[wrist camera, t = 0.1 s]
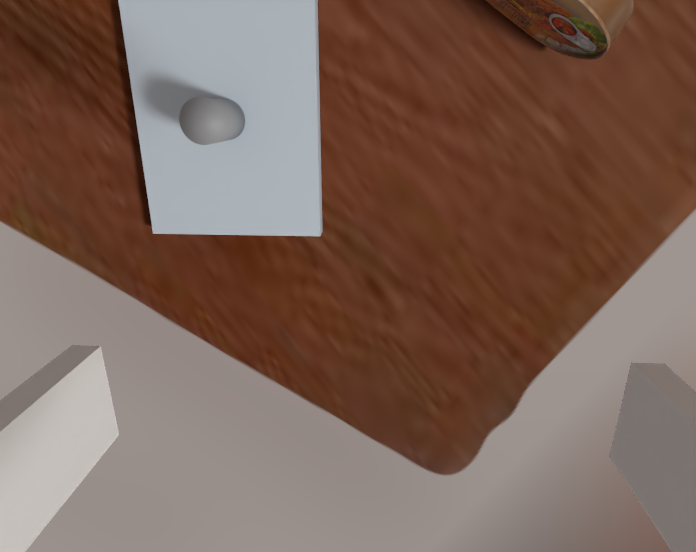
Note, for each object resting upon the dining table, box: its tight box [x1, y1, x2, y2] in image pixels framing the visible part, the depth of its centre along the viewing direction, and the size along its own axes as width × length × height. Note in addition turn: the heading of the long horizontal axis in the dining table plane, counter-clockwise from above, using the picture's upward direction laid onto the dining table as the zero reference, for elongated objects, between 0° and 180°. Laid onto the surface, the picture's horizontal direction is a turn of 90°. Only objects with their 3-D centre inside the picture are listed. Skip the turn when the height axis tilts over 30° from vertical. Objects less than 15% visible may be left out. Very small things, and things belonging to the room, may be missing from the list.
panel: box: [118, 0, 322, 236], centre depth 34 cm, size 18×14×6 cm
